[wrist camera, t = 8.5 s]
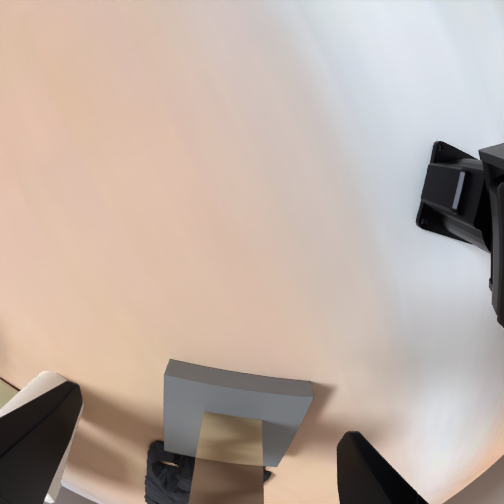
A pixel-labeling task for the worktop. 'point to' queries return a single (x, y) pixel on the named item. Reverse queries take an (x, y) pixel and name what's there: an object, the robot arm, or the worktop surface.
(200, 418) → the base
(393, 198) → the worktop surface
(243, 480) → the walnut block
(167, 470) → the dark slate chunk
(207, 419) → the oak block
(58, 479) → the foam cup
